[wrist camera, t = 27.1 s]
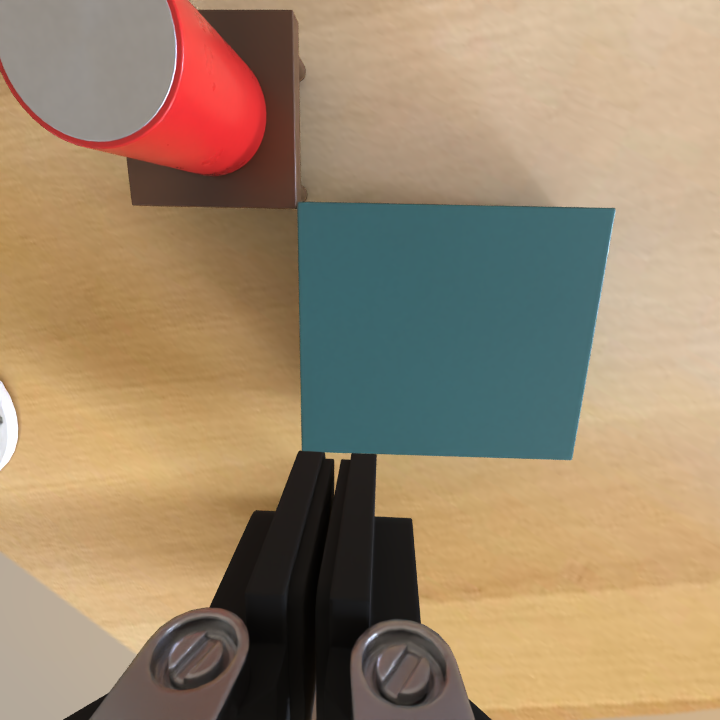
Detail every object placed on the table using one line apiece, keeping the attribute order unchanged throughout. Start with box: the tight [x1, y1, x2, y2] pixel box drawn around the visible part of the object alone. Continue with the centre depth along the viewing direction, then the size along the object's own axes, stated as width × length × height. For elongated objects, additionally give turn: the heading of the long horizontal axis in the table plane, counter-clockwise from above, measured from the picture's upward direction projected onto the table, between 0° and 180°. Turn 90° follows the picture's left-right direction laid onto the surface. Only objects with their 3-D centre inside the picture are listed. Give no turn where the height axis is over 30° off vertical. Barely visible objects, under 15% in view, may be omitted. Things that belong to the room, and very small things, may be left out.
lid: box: [297, 202, 616, 460], centre depth 25 cm, size 15×14×1 cm
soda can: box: [0, 0, 266, 176], centre depth 19 cm, size 6×6×10 cm
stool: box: [127, 10, 307, 209], centre depth 26 cm, size 9×9×6 cm
